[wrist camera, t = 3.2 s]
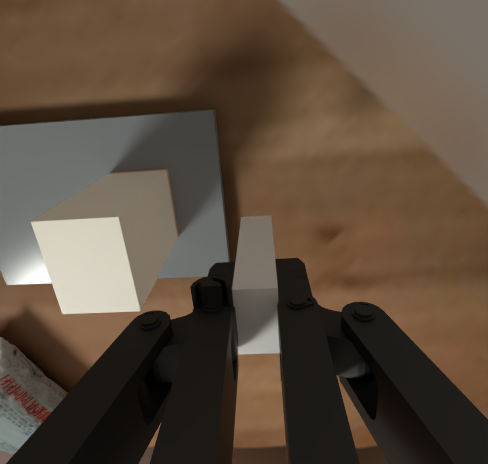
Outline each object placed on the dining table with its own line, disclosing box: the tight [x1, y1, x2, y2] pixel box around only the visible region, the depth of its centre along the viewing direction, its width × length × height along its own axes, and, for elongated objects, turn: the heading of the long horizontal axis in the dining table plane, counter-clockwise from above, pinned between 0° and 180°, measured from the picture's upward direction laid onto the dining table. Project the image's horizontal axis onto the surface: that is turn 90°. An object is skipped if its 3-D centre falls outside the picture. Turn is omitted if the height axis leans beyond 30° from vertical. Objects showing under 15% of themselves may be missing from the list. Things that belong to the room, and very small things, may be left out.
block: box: [31, 169, 179, 314], centre depth 20 cm, size 4×5×9 cm
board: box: [0, 109, 231, 285], centre depth 25 cm, size 18×12×1 cm, turn 94°
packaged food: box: [0, 337, 68, 454], centre depth 32 cm, size 9×12×5 cm
